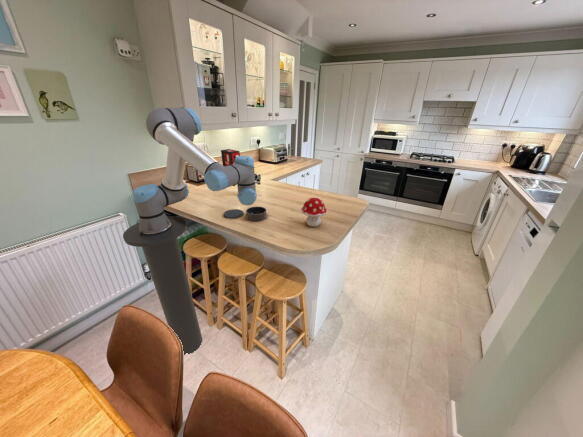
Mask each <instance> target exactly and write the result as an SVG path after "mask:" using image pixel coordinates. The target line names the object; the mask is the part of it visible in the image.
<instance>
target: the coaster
mask: <svg viewBox="0 0 583 437" xmlns="http://www.w3.org/2000/svg"><path fill="white" fill-rule="evenodd" d="M243 215H244V211H243V210H241V209H237V208H234V209H233V208H232V209H228V210H226V211H224V213H223V217H224V218H226V219H230V220H232V219H238V218H242V216H243Z"/></svg>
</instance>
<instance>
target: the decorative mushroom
mask: <svg viewBox="0 0 583 437" xmlns="http://www.w3.org/2000/svg"><path fill="white" fill-rule="evenodd" d="M300 211H301V213H302V215H305V216H306V219H305V223H306V224H307V226H309V227H312V228H316V227H319V225H321V223H322V220H321V217H323V216H325V215H326V214H327V213H328V210H327V208H326V206H325V203H324V201H323V200H322V199H320V198H319V197H310V198H308V199H307V200H305V202H304V203H303V206H302V207H301V208H300Z"/></svg>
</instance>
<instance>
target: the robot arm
mask: <svg viewBox="0 0 583 437" xmlns="http://www.w3.org/2000/svg"><path fill="white" fill-rule="evenodd" d="M145 126H146V130H147V132H148V134H149V136H150V137H151V138H152V139H153V140H155V141H156V142H157V143H158V144H159V145H162V146H165V147H167V158H166V166H165V175H164V176H163V177H162V178H161V182H160V183H161V184H159V185H157V184H156V183H149V184H144V185H140V186H138V187H137V188H135V189H134V190H133V191H132V199H133V203H134V206H135V208H136V211H137V214H138V217H139V222H138V223H139V231H140V234H139V235H140V236H141V235H156V234H160V233H163V232H165V231H167V230H169V229H170V228H171V222H170V219H169V218H168V217H167V216H168V215H167V214H166V213H165V209H164V208H165V207H168V206H171V205H174V204H177V203H180V202H183V201H185V200H186V199H187V198H188V197H189V193H190V191H189V186H188V184H187V183H186V181H185V180H184V176H185V171H186V165H187V164H188V165H189V166H190V167H192V168H194V170H195V171H196V172H198V173H199V174H201V175H202V177H204V178H203V180H204V184H205V185H206V186H207V188H208V189H209V191H212V192H219V191H223V190H227V189H228V188H230V187H235V186H237V199H238V201H239V202H240V203H241V204H242V205H244V206H252V205H254V203H256V201H257V197H258V196H257V195H258V194H257V188H256V185H261V180H262V176H261V174H257V173H255V163H254V158H253V157H252V156H250V155H240V156H238V157H236V158H235V162H234V163H235V164H233V165H229V166H226V167H224V166H223V164H222V163H220V162H219V161H218V160H216V159H215V158H213V157H212V156H211V155H210V154H208V153H207V152H206V151H205V150H204V149H202V148H201V147H199V146H198V145H197V144H196V143H194V139H195V136H197V135H199V134H201V131H202V122H201V119H200V117H199V115H198V114H197V111H195V110H194V109H193V108H190V107H183V106H182V107H157V108H154V109H152V110H150V112H149V113H148V115H147V116H146V120H145Z"/></svg>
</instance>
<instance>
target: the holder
mask: <svg viewBox="0 0 583 437" xmlns="http://www.w3.org/2000/svg"><path fill="white" fill-rule="evenodd" d="M245 216H246V220H248V221H250V222H261V221H264V220H266V219H267V218H268V211H267V208H266V207H263V206H251V207H248V208H247V209H246V210H245Z"/></svg>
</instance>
